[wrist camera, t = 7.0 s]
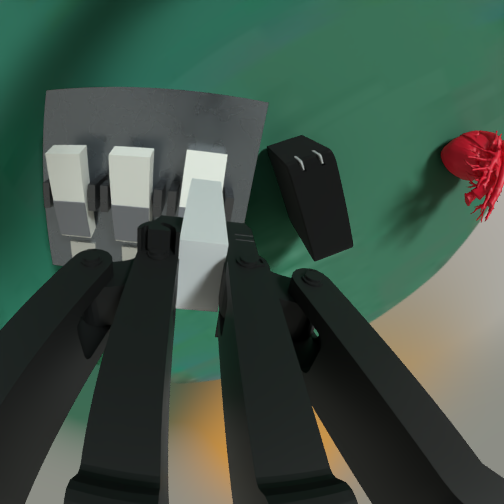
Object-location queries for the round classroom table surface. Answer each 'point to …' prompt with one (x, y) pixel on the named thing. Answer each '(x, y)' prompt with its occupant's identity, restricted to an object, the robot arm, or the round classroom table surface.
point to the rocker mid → (130, 189)
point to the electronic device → (312, 195)
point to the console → (148, 136)
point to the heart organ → (477, 165)
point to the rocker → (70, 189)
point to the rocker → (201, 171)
